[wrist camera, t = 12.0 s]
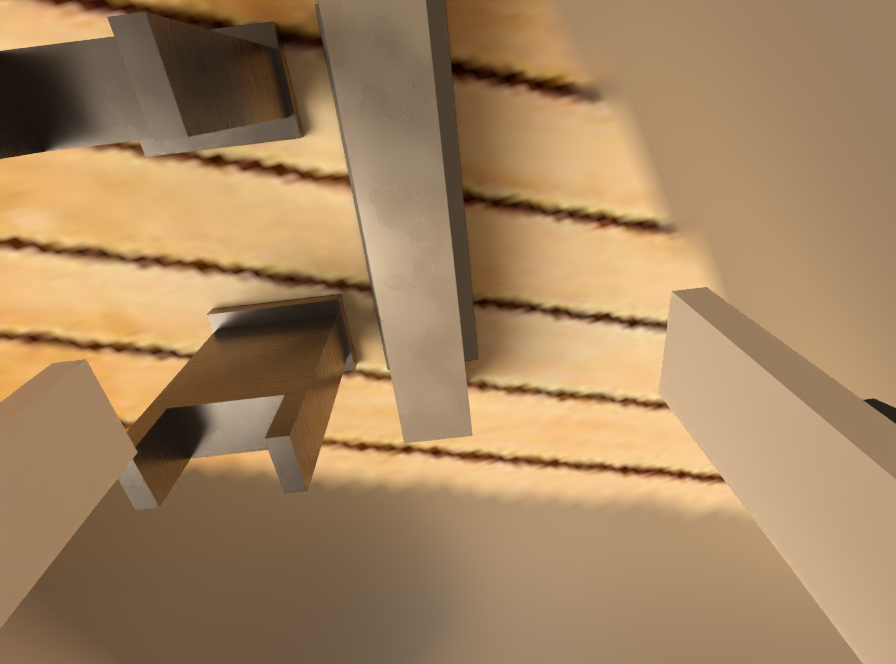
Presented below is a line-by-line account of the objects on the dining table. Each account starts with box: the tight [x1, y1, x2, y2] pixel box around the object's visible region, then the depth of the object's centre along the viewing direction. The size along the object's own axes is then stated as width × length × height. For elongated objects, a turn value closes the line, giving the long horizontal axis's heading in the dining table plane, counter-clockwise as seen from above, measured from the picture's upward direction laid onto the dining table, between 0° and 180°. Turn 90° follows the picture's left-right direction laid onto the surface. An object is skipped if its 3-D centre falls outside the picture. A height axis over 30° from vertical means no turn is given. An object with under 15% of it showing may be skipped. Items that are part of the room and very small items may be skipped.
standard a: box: [0, 12, 304, 159], centre depth 18 cm, size 5×8×12 cm, turn 96°
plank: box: [315, 0, 478, 370], centre depth 26 cm, size 20×6×1 cm, turn 6°
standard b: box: [118, 294, 357, 510], centre depth 25 cm, size 5×8×12 cm, turn 96°
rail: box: [318, 0, 472, 443], centre depth 24 cm, size 24×4×5 cm, turn 6°
